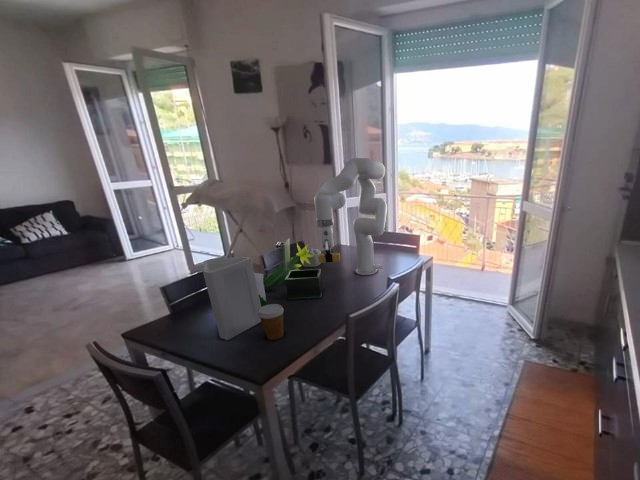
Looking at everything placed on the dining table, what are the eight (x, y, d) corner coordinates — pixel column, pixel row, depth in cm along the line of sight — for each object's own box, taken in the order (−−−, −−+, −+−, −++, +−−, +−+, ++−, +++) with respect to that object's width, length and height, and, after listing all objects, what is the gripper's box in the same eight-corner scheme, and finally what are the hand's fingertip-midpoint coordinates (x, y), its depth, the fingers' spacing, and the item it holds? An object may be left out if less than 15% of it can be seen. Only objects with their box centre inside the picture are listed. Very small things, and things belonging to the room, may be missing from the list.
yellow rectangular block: (340, 258, 173) (339, 252, 172) (340, 261, 169) (339, 255, 168) (319, 259, 172) (318, 253, 171) (318, 262, 168) (317, 256, 167)
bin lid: (289, 237, 173) (279, 237, 172) (284, 244, 161) (273, 244, 161) (290, 269, 179) (280, 269, 179) (285, 278, 168) (275, 277, 167)
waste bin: (323, 288, 185) (320, 268, 181) (320, 298, 174) (318, 277, 170) (292, 290, 184) (289, 270, 180) (288, 300, 173) (285, 279, 168)
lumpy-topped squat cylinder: (300, 265, 219) (298, 252, 215) (311, 259, 230) (309, 246, 227) (315, 267, 216) (313, 253, 212) (325, 260, 227) (324, 247, 224)
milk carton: (243, 316, 158) (233, 274, 149) (257, 307, 165) (248, 267, 157) (259, 318, 155) (250, 276, 147) (272, 310, 163) (265, 268, 154)
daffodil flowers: (252, 288, 189) (294, 254, 212) (274, 304, 188) (314, 268, 211) (253, 269, 176) (298, 235, 199) (277, 285, 175) (319, 249, 198)
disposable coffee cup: (266, 330, 145) (261, 304, 140) (289, 329, 146) (285, 302, 141) (260, 342, 137) (254, 314, 132) (285, 341, 137) (280, 313, 132)
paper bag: (240, 313, 160) (226, 253, 149) (264, 319, 154) (252, 257, 143) (202, 332, 145) (184, 267, 133) (227, 340, 139) (210, 272, 127)
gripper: (332, 226, 156) (336, 265, 164) (334, 218, 171) (338, 254, 179) (315, 227, 155) (320, 266, 163) (318, 219, 170) (323, 255, 178)
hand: (329, 260), depth 171 cm, fingers closed on yellow rectangular block, 4 cm apart
